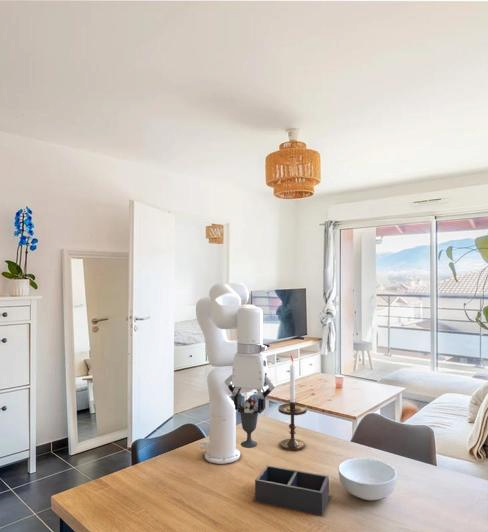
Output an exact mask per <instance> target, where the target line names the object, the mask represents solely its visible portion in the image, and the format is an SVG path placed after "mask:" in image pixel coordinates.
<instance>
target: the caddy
mask: <svg viewBox="0 0 488 532" xmlns="http://www.w3.org/2000/svg"><path fill="white" fill-rule="evenodd" d="M329 497H330V476H329V475H325V474H319V473H313V472H307V471H302V470H297V469H292V468H287V467H286V468H285V467H281V466H280V467H279V466H273V465H268V464H266V465H265V466H264V468H263V469H262V470H261V472H260V473H259V475H258V476H257V477H256V479H254V502H256V503H261V504H265V505H270V506H275V507H279V508H284V509H289V510H293V511H299V512H302V513H303V512H304V513H307V514H311V515H312V514H313V515H317V516H322V517H323V515H324V511H325V509H326V507H327V504H328V501H329Z"/></svg>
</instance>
